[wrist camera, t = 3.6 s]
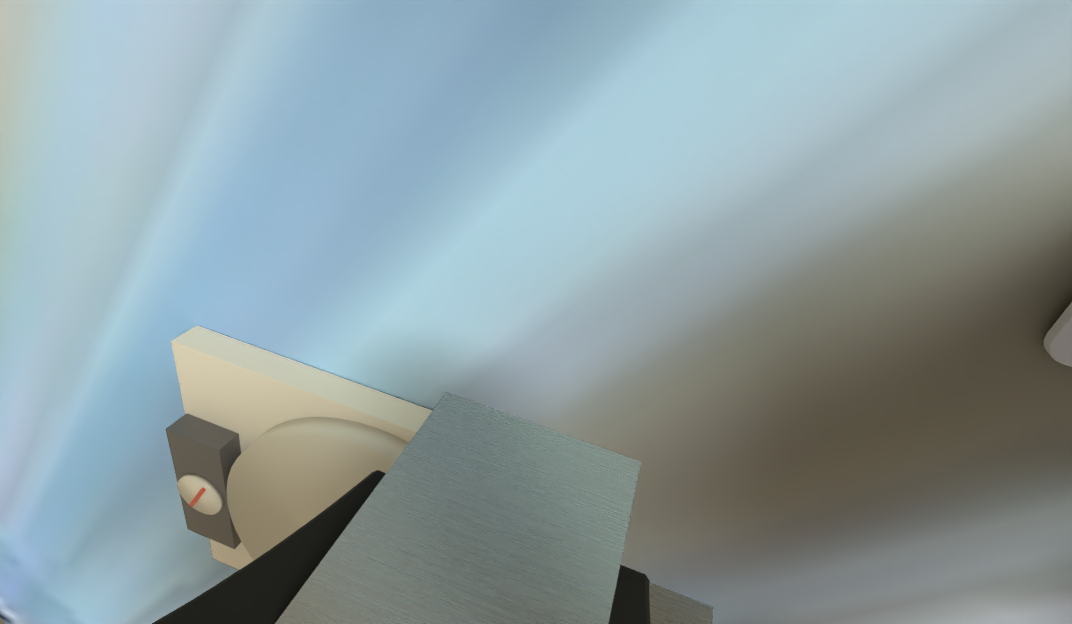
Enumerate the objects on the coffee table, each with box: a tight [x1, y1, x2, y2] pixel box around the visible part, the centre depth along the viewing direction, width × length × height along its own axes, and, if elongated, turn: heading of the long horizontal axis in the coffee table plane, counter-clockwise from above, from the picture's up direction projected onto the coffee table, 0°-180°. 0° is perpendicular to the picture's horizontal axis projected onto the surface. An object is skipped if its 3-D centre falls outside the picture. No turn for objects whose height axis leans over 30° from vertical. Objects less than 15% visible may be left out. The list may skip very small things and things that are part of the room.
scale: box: [166, 325, 432, 570], centre depth 23 cm, size 15×13×2 cm
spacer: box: [275, 392, 641, 624], centre depth 10 cm, size 4×4×5 cm
